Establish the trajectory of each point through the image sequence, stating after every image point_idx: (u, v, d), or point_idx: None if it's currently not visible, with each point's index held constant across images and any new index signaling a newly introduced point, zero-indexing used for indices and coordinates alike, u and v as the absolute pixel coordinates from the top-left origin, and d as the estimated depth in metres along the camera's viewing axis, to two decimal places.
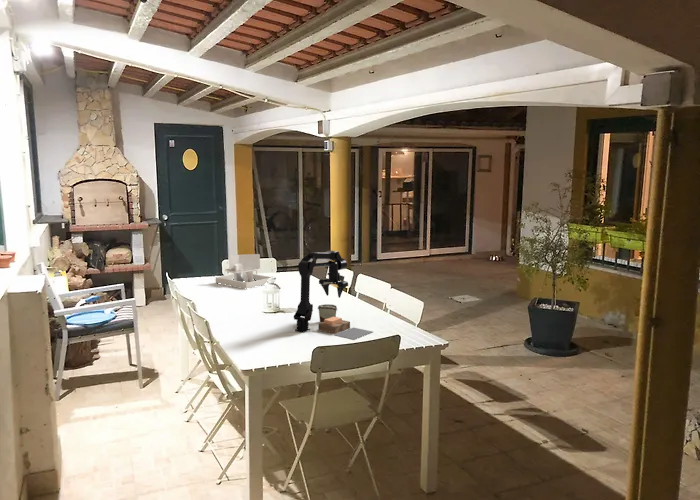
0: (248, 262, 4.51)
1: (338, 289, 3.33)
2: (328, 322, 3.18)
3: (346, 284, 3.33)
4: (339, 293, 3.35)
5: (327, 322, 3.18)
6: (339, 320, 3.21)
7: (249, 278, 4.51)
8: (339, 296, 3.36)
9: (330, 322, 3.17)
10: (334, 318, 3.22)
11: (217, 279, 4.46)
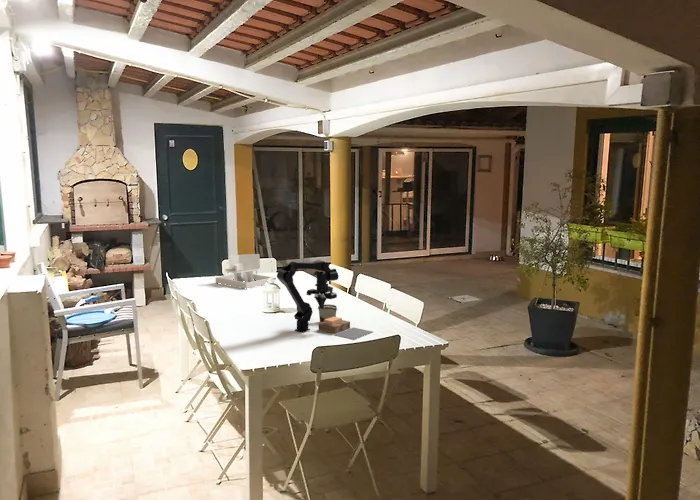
0: (248, 262, 4.51)
1: (320, 300, 3.22)
2: (328, 322, 3.18)
3: (335, 296, 3.19)
4: (321, 304, 3.23)
5: (327, 322, 3.18)
6: (339, 320, 3.21)
7: (249, 278, 4.51)
8: (321, 307, 3.25)
9: (330, 322, 3.17)
10: (334, 318, 3.22)
11: (217, 279, 4.46)
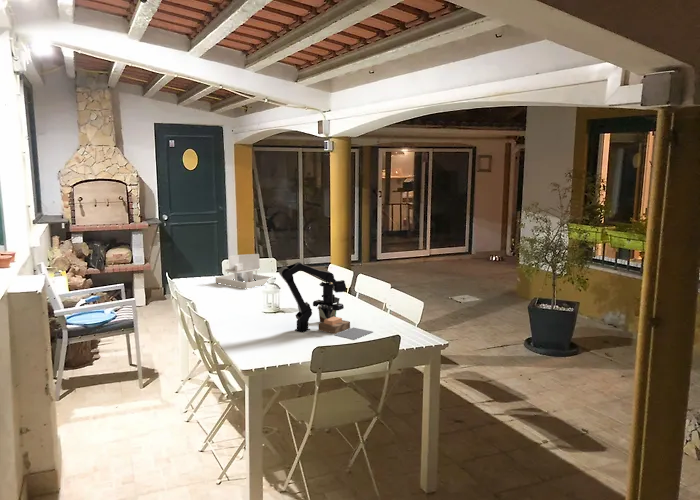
0: (248, 262, 4.51)
1: (327, 311, 3.20)
2: (328, 322, 3.18)
3: (341, 307, 3.18)
4: (328, 315, 3.22)
5: (327, 322, 3.18)
6: (339, 320, 3.21)
7: (249, 278, 4.51)
8: None
9: (330, 322, 3.17)
10: (334, 318, 3.22)
11: (217, 279, 4.46)
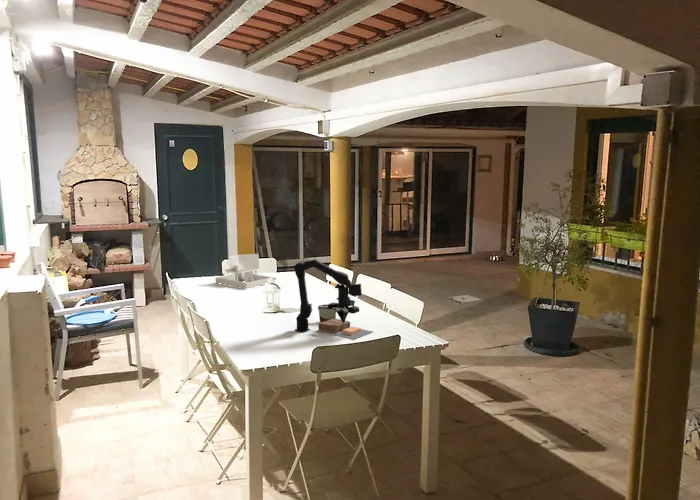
0: (247, 262, 4.51)
1: (342, 314, 3.13)
2: (346, 332, 3.11)
3: (357, 310, 3.11)
4: (343, 318, 3.15)
5: (347, 332, 3.10)
6: None
7: (249, 278, 4.51)
8: (343, 321, 3.16)
9: (344, 332, 3.12)
10: None
11: (217, 279, 4.46)
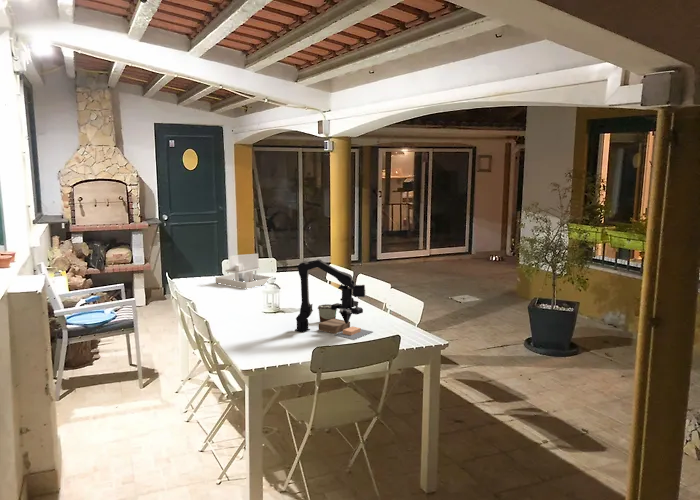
0: (247, 262, 4.51)
1: (346, 315, 3.12)
2: (346, 332, 3.11)
3: (361, 311, 3.09)
4: (347, 319, 3.13)
5: (347, 332, 3.10)
6: None
7: (248, 278, 4.52)
8: (347, 322, 3.15)
9: (344, 332, 3.12)
10: None
11: (217, 279, 4.46)
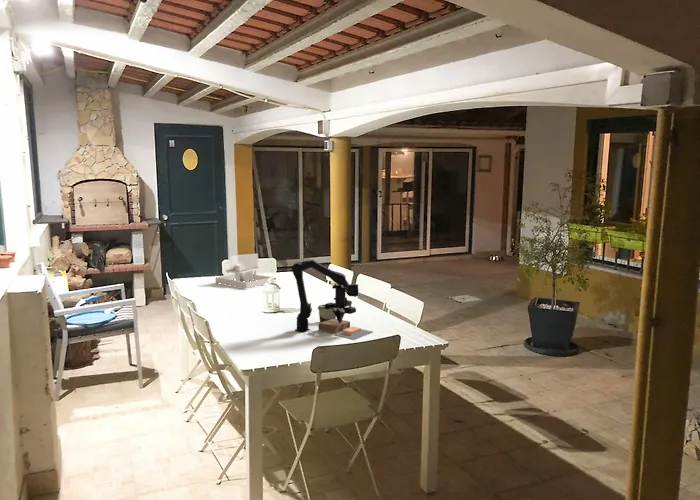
0: (246, 262, 4.51)
1: (339, 314, 3.14)
2: (346, 332, 3.11)
3: (354, 310, 3.12)
4: (340, 318, 3.16)
5: (347, 332, 3.10)
6: None
7: (248, 278, 4.52)
8: (340, 321, 3.17)
9: (344, 332, 3.12)
10: None
11: (217, 279, 4.46)
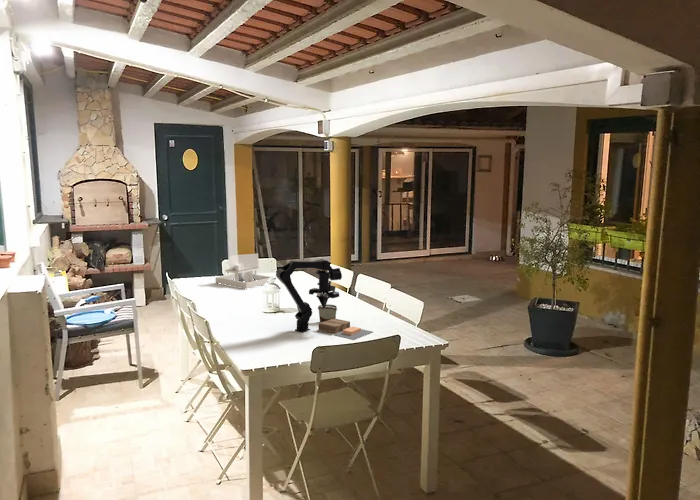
0: (247, 262, 4.51)
1: (323, 299, 3.19)
2: (346, 332, 3.11)
3: (337, 295, 3.17)
4: (324, 303, 3.21)
5: (347, 332, 3.10)
6: None
7: (248, 278, 4.52)
8: (324, 306, 3.22)
9: (344, 332, 3.12)
10: None
11: (217, 279, 4.46)
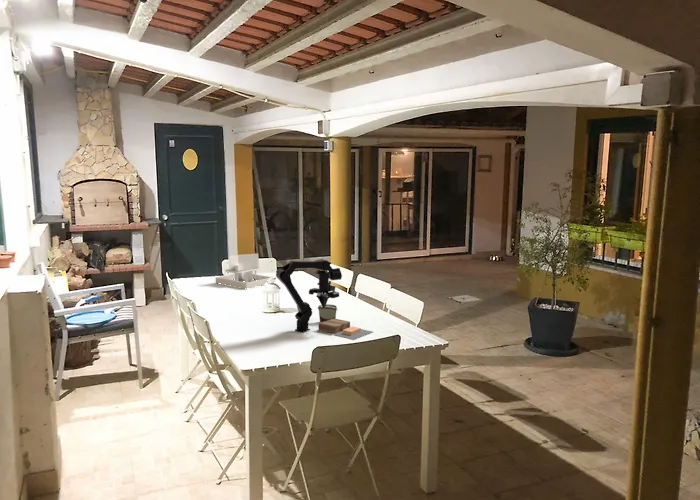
0: (247, 262, 4.51)
1: (323, 299, 3.19)
2: (346, 332, 3.11)
3: (337, 295, 3.17)
4: (324, 303, 3.21)
5: (347, 332, 3.10)
6: None
7: (248, 278, 4.52)
8: (324, 306, 3.22)
9: (344, 332, 3.12)
10: None
11: (217, 279, 4.46)
